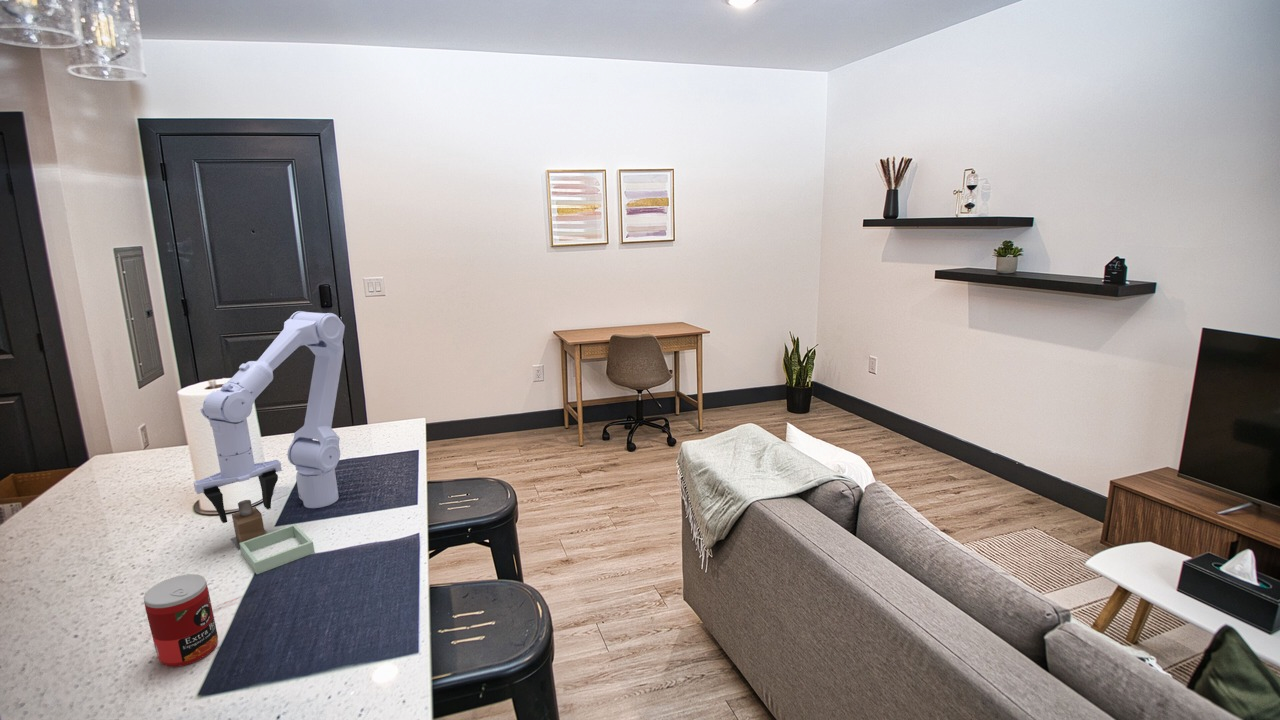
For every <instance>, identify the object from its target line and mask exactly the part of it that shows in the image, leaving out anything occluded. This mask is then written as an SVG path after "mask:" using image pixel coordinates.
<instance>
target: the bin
mask: <svg viewBox="0 0 1280 720" xmlns="http://www.w3.org/2000/svg"><path fill="white" fill-rule="evenodd" d="M291 538H296V540H297V541H298V542H299V543H300V544H299V545H296V546H294V547H290V548H288V549H285V550H283V551H280V552H277V553H274V554H272V555H269V556H266V557H264V558H260V559H257V558H256V557H255V555H254V554H253V552H255V551H258V550H261V549H263V548H266V547H267V548H268V547H269V546H273V545H275V544H277V543H281V542H282V541H286V540H289V539H291ZM239 544H240V550H239V551H240V553H241V556H242V557H243V558H244V560H245V561H246V562H247V564H248V565H249V566H250V568H251V569H252V570H253V571H254V573H255V574H256V575H260V574H262V573H266V572H267V571H270V570H272V569H276V568H278V567H280V566H283V565H286V564H289V563H291V562H294V561H297V560H299V559H301V558H304V557H307V556H310V555H312V554H315V546H314V542H313V540H312V539H311V538H310V537H309V536H308V535H307V534H306V533H305V532H304V531H303V530H302V529H301V528H300V527H299V526H298V525H297V524H296V523H294V524H291V525H288V526H285V527H282V528H279V529H276V530H273V531H270V532H267V534H264V535H262V536H259V537H256V538H253V539H250V540H247V541H244V542H241V543H239Z"/></svg>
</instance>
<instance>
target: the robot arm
mask: <svg viewBox="0 0 1280 720" xmlns="http://www.w3.org/2000/svg"><path fill="white" fill-rule="evenodd" d="M345 328H346V326H345V324H344V323H343V322H342V319H340V318H339V316H338V315H337V314H335V313H332V312H327V313H326V312H325V313H323V312H311V311H310V312H309V311H304V310H303V311H302V310H298V311H296V312H294V313H293V314H291V316H290V317H289V318H288V319H286V321H284V322H283V329H282V330H281V331H280V333H279V334H278V335H277V337H276V338H275V339H274V340H273V341H272V343H270V344H269V346H268V347H267V348H266V349H265V351H264V352H263V353H262V355H260V357H259V358H258V359H257V360H249V361H247V362H246V363H241V364H240V365H239V367H238V369H239V370H238V371H237V372H235V374H234V375H233V376H232V377H231V378H230V379H229V380H228V381H227V382H224V383H223V384H222V386H221V388H220V390H216V391H212V392H211V393H209V394H208V395H207V396H206V397H205V399H204V400H203V403H202V407H201V408H200V413H201V414H202V416H203V417H204V418H205V419H207V420H208V421H209V425H210V428H211V429H212V433H213V440H214V445H215V449H216V454H217V460H218V465H219V466H218V467H219V471H220V472H218V473H216V474H212V475H210V476H207V477H204V478H202V479H199V480H196V481H193V486H194V491H195V493H196V494H197V495H200V494H203V495H204V496H205V497H206V498H207V499H208V501H210V502H211V504H212V505H213V507H214V509H215V510H216V512H217V514H218V516H219V519H220V521H221V523H222V524H226V523H228V517H227V513H226V511H225V505H224V499H223V498H224V496H223V494H224V493H222V492H221V489H220V488H221V487H223V486H228V485H231V484H235V483H238V482H239V483H242V482H246V481H249V480H250V479H252V478H253V479H254V478H256V477H258V480H259V484H260V489H261V494H262V503H263V507H264V509H266V510H270V509H271V508H272V506H271V505H272V499H273V493H274V491H275V487H276V485H277V482H278V479H279V476H278V475H279V474H277V473H279V472H282V471H283V470H282V463H281V461H280V460H278V459H274V460H269V461H263V462H258V463H255V458H254V453H253V448H252V441H251V436H250V430H249V425H248V419H247V418H248V417H250V416H251V413H252V412H253V411H252V410H253V405H254V403H255V402H256V401H255V400H256V399H257V398H258V397H259V395H260V394H262V392H263V391H264V390H265V389H266V388H267V387H268V386H269V385H270V383H272V382H273V380H274V373H273V372H274V370H276V368H278V367H279V366H280V365H281V364H282V363H283V362H284V361H285V360H286V359H287V358H288V357H290V355H292V354H293V353H294V351H296V350H297V349H298V348H299V347H301V346H305V347H307V348H308V349H309V350H310V351H311V352H312V354H313V355H315V357H314V365H313V369H312V374H311V375H312V376H311V380H310V386H309V388H310V389H309V394H308V401H307V404H306V405H307V407H306V412H305V418H304V424H303V425H302V427H300V428H299V429H298V430H297V431H295V432H294V435H293V440H292V442H291V443H290V445H289V447H288V448H287V459H288V461H289V463H290V464H291V465H292V466H295V471H297V472H296V475H295V479H296V486H297V491H298V497H299V499H300V500H301V501H302V503H303V506H304V507H305V508H308V509H317V508H319V509H320V508H324V507H327V506H330V505H332V504H334V503H336V502H337V501H338V500H339V489H338V483H337V476H336V470H335V468H337V465H338V464H339V461H340V458H341V449H340V436H339V435H338V434H337V432H336V431H335V430H334V429H333V428H332V426H333V418H334V412H335V407H336V401H337V394H338V389H339V382H340V375H341V370H342V363H343V358H344V357H343V356H344V343H343V341H344V340H343V339H344V334H345Z"/></svg>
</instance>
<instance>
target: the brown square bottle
mask: <svg viewBox="0 0 1280 720" xmlns="http://www.w3.org/2000/svg"><path fill="white" fill-rule="evenodd" d="M237 507H238V511H237V512H234V513H231V518H232V523H233V528H234V533H235V537H236V539H237V540H238V541H239V543H241V542H244V541H247V540H250V539H253V538H256V537H259V536H262V535H264V534H265V531H266V530H265V531H264V529H265V525H264V519H263V514H262V512H261V511H260V510H259V509H258V508H257V506H252V501H251V500H250V499H245V500H241V501H239V502H237Z"/></svg>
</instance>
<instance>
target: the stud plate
mask: <svg viewBox="0 0 1280 720" xmlns="http://www.w3.org/2000/svg"><path fill="white" fill-rule="evenodd" d="M264 531H265V534H267V533H268V532H267V530H266V529H265V528H264ZM229 540H230V541H231V542H232V544H233V546H235V548H236V549H237V550H238V551H241V550H240V544H239V541H238V540H237V539H236V536H235V537H232V538H230V539H229Z"/></svg>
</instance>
